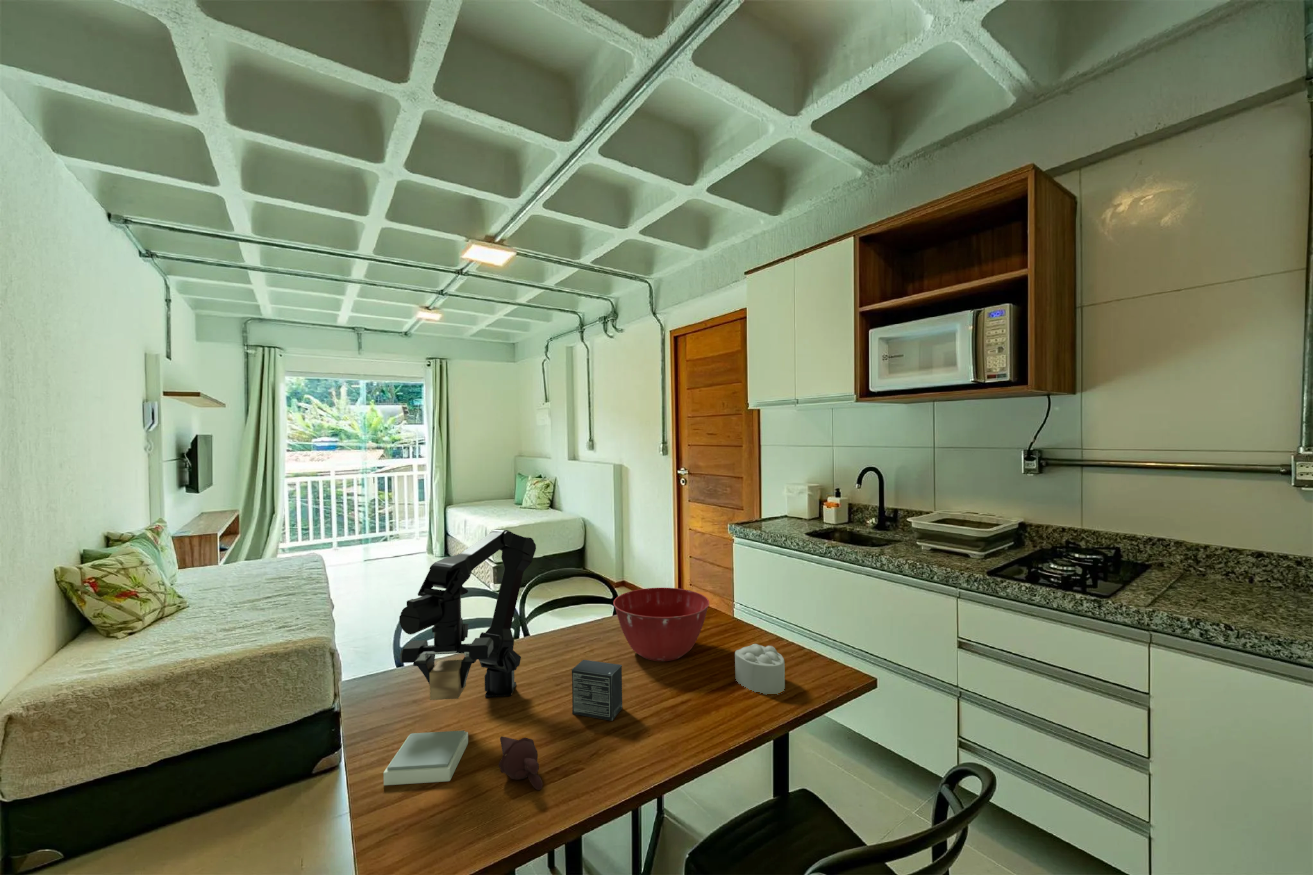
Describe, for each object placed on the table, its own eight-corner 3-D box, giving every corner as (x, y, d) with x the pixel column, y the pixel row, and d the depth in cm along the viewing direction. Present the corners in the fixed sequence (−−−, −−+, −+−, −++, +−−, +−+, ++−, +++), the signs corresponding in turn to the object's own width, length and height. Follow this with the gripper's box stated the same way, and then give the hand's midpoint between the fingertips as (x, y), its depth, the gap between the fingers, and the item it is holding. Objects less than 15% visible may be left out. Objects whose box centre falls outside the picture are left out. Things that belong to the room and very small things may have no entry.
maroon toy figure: (480, 734, 101) (516, 778, 90) (514, 711, 105) (552, 750, 94) (487, 763, 102) (524, 809, 91) (520, 739, 107) (559, 780, 96)
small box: (623, 707, 122) (623, 663, 122) (612, 722, 116) (612, 675, 116) (584, 700, 126) (583, 657, 126) (571, 714, 119) (570, 669, 119)
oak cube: (466, 685, 118) (465, 659, 118) (458, 698, 112) (457, 671, 112) (439, 686, 118) (438, 660, 118) (429, 700, 112) (429, 672, 112)
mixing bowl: (651, 627, 173) (651, 581, 173) (727, 646, 156) (726, 595, 156) (594, 657, 150) (593, 604, 150) (675, 683, 133) (674, 624, 133)
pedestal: (468, 742, 109) (467, 728, 109) (449, 781, 97) (449, 765, 97) (409, 746, 108) (409, 732, 108) (383, 785, 96) (383, 769, 96)
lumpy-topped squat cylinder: (758, 668, 141) (757, 637, 141) (795, 687, 131) (794, 653, 131) (730, 679, 136) (729, 646, 136) (766, 699, 125) (765, 664, 125)
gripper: (498, 604, 124) (499, 669, 124) (418, 607, 122) (419, 673, 122) (486, 621, 113) (487, 692, 113) (398, 625, 111) (399, 696, 111)
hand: (448, 687), depth 115 cm, fingers closed on oak cube, 6 cm apart
